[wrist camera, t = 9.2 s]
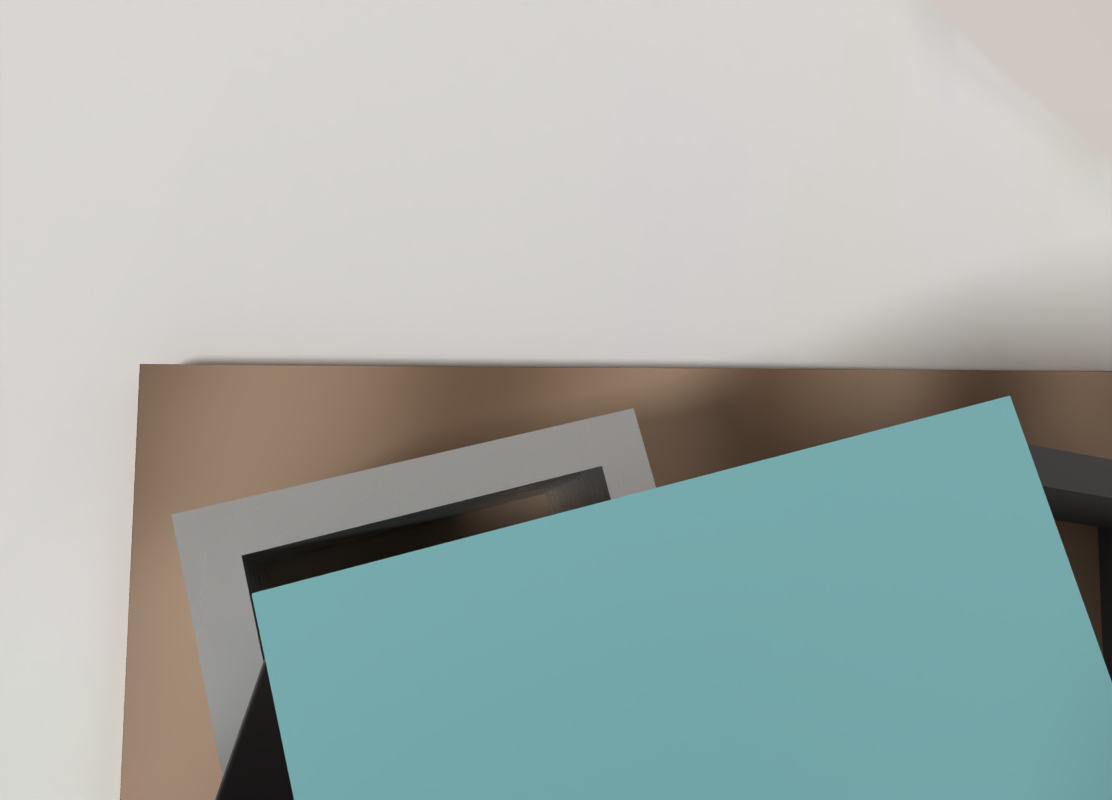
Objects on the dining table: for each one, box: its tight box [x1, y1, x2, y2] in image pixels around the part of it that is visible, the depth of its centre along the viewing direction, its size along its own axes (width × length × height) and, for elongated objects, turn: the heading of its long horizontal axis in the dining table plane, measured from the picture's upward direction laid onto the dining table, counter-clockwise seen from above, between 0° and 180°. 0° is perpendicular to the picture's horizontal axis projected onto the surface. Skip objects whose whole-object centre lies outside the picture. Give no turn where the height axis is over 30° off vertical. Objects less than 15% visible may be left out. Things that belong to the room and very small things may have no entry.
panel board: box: [120, 364, 1112, 800], centre depth 19 cm, size 24×12×1 cm, turn 93°
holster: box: [1027, 444, 1112, 681], centre depth 18 cm, size 7×7×3 cm
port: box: [171, 408, 656, 777], centre depth 15 cm, size 7×7×4 cm
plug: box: [252, 396, 1112, 800], centre depth 10 cm, size 4×4×12 cm
